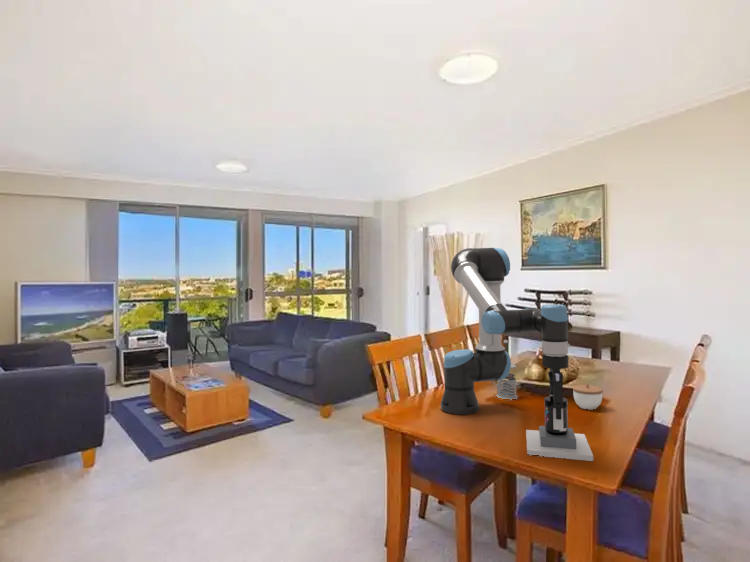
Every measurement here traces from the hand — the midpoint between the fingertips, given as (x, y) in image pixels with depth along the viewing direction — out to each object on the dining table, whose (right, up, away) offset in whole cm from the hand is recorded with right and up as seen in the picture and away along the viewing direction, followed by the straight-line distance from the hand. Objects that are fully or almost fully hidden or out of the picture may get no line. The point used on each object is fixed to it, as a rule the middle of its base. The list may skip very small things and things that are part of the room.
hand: (556, 422), depth 140 cm
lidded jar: (+28, -7, +39) cm, 48 cm away
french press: (0, -7, +57) cm, 57 cm away
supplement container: (0, -3, 0) cm, 3 cm away
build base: (0, -8, 0) cm, 8 cm away
